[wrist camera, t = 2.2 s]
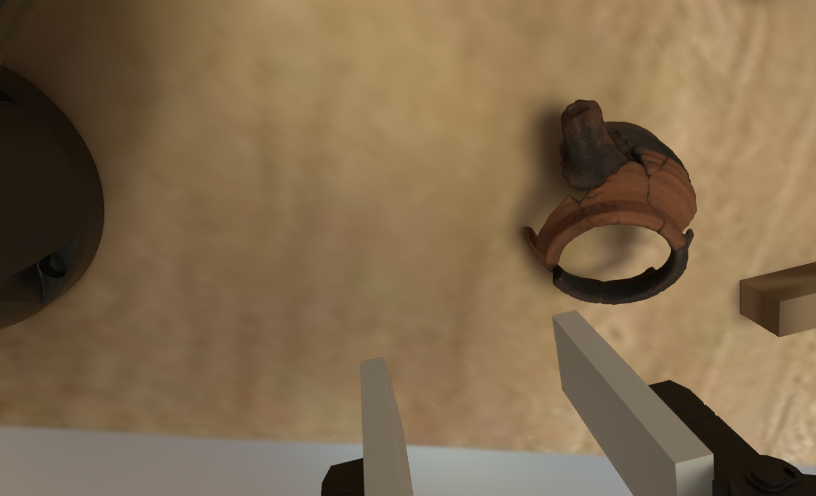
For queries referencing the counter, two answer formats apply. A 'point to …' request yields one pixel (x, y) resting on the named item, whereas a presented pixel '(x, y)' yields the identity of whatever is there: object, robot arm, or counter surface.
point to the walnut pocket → (781, 300)
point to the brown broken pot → (616, 202)
